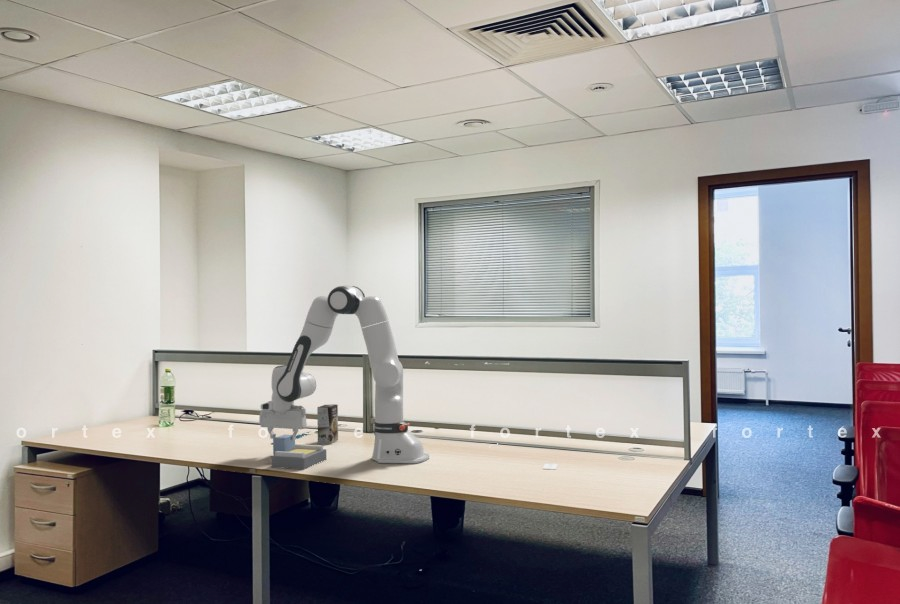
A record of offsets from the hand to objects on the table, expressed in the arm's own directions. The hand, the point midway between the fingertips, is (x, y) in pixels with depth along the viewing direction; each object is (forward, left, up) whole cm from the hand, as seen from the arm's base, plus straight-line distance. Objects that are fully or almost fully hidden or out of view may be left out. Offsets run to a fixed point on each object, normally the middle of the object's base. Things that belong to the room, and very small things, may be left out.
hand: (283, 439), depth 269 cm
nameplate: (+16, -36, -7) cm, 40 cm away
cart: (0, 0, -7) cm, 7 cm away
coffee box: (-4, -28, -7) cm, 29 cm away
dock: (-14, +11, -7) cm, 19 cm away
